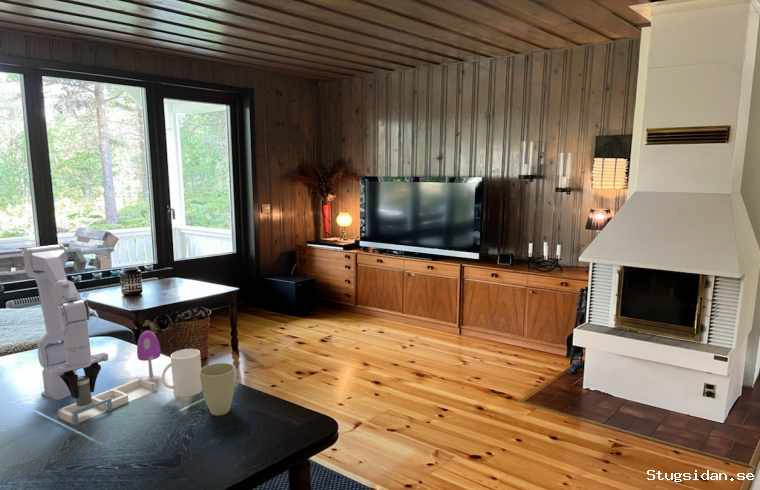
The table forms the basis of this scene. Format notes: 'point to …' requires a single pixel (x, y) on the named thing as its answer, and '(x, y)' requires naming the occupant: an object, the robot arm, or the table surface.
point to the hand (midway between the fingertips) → (83, 394)
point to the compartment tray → (107, 401)
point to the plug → (83, 391)
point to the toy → (148, 348)
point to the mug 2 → (218, 386)
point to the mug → (185, 372)
